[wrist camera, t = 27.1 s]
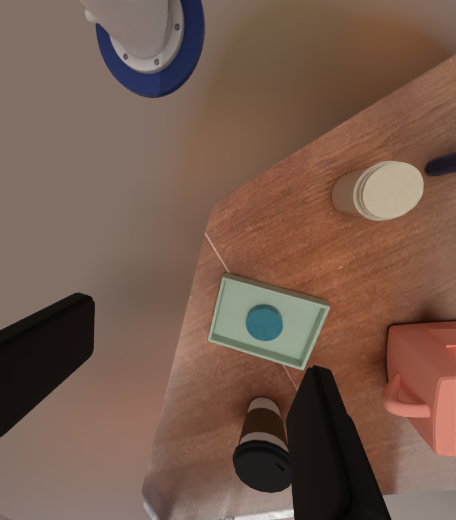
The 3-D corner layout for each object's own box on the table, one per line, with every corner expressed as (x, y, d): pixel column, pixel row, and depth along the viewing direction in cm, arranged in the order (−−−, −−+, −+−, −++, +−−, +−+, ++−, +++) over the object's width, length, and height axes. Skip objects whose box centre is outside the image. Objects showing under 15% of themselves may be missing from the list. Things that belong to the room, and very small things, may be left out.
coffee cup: (267, 380, 45) (267, 441, 34) (299, 414, 47) (310, 484, 35) (230, 401, 49) (219, 462, 38) (260, 432, 50) (259, 501, 39)
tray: (210, 333, 45) (207, 340, 42) (224, 272, 40) (222, 276, 38) (301, 361, 43) (303, 370, 40) (326, 300, 38) (330, 306, 36)
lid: (286, 309, 40) (287, 314, 38) (277, 339, 42) (277, 345, 40) (251, 300, 40) (250, 305, 39) (243, 329, 42) (242, 335, 41)
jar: (327, 213, 34) (352, 219, 24) (336, 169, 32) (367, 156, 22) (371, 217, 33) (416, 225, 23) (383, 171, 31) (438, 159, 21)
